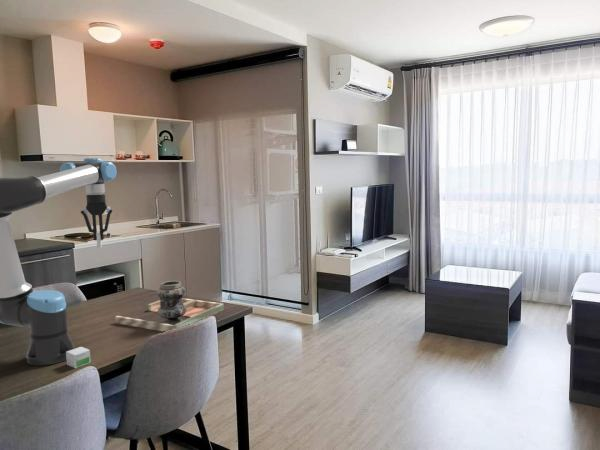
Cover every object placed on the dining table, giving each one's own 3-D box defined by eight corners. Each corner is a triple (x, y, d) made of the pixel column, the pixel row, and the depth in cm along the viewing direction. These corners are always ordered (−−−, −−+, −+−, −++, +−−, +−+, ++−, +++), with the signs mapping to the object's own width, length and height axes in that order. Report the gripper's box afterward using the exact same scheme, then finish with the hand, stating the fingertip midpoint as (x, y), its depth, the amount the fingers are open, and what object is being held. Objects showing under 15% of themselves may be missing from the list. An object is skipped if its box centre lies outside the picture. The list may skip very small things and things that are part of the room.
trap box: (115, 323, 201) (115, 316, 201) (170, 302, 232) (169, 296, 231) (174, 333, 187) (174, 326, 187) (223, 309, 218) (223, 303, 217)
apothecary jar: (182, 317, 208) (180, 278, 205) (191, 324, 197) (189, 283, 195) (155, 322, 201) (152, 281, 199) (162, 330, 191) (160, 287, 189)
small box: (75, 369, 155) (74, 355, 154) (66, 365, 158) (65, 351, 158) (91, 363, 160) (90, 349, 159) (82, 359, 163) (81, 346, 162)
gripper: (112, 193, 206) (115, 245, 209) (80, 194, 202) (84, 247, 205) (111, 193, 199) (114, 247, 202) (78, 194, 195) (82, 250, 198)
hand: (99, 247), depth 203 cm, fingers closed
